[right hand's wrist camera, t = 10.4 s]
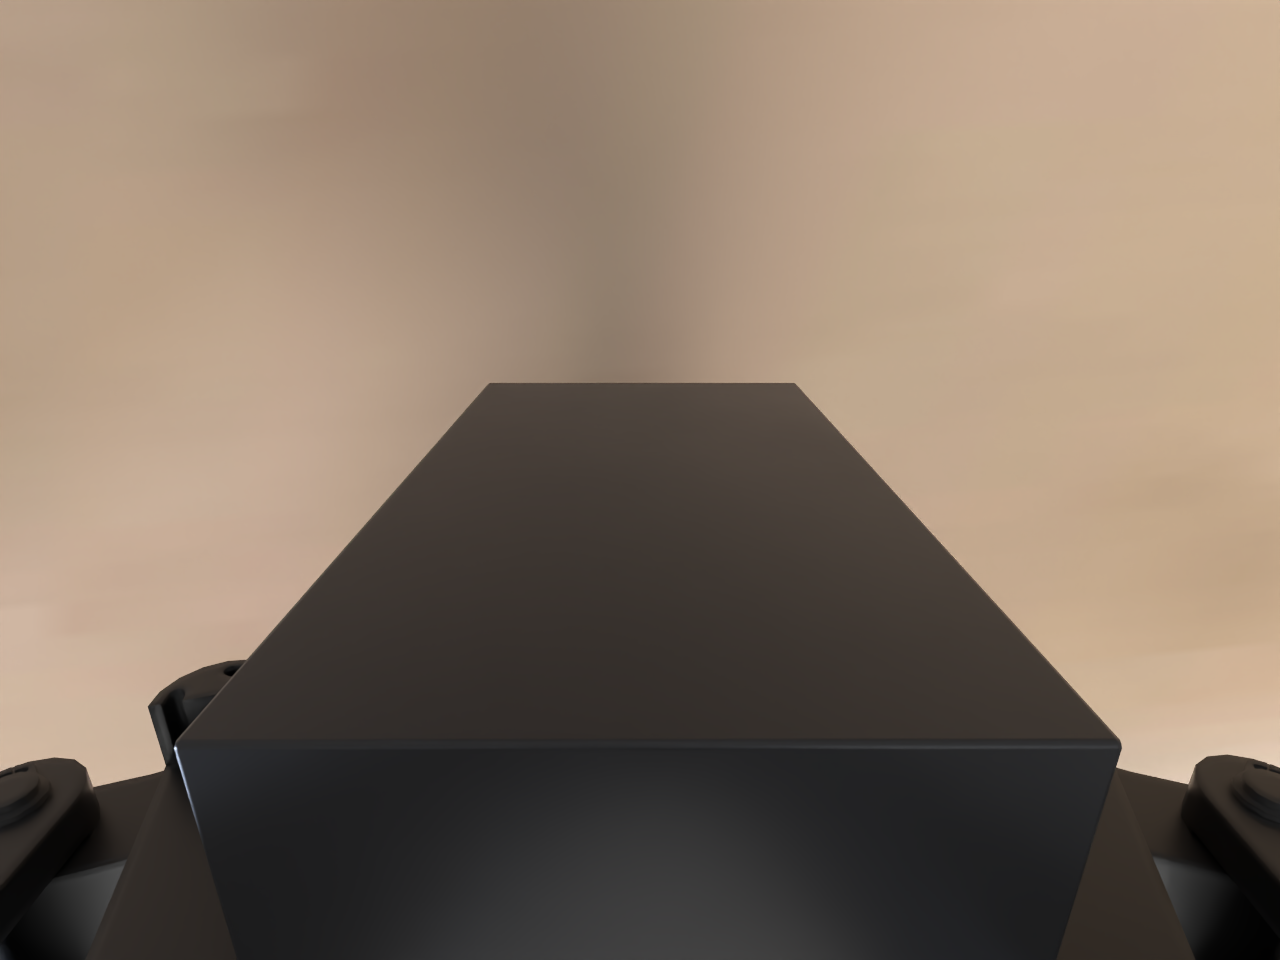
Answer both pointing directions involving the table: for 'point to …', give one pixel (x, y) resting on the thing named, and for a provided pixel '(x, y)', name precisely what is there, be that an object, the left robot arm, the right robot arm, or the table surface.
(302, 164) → the table surface
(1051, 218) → the table surface
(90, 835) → the right robot arm
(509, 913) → the box
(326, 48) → the table surface
